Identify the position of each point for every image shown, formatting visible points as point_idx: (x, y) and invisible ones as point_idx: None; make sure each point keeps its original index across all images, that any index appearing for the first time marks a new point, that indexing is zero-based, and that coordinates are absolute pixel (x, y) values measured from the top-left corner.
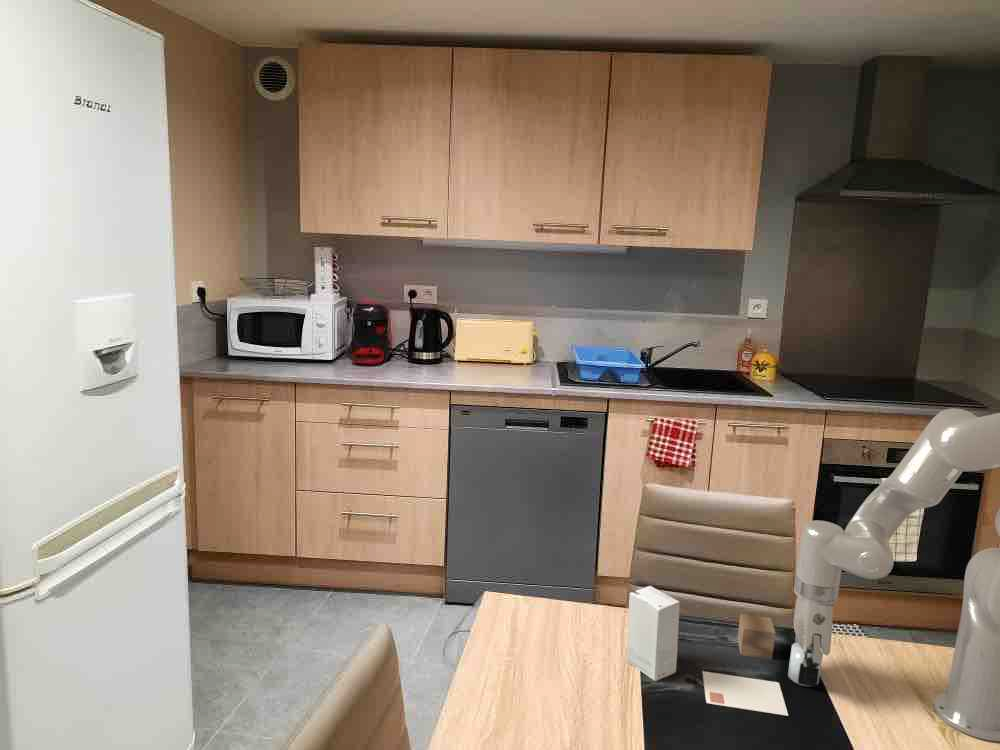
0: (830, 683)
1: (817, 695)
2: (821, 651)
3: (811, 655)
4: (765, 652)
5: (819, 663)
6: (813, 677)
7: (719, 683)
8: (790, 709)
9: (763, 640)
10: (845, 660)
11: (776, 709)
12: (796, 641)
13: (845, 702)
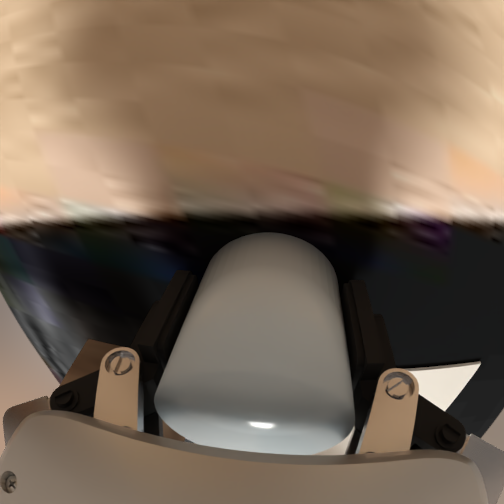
0: (281, 175)
1: (396, 266)
2: (238, 373)
3: (317, 424)
4: None
5: (495, 448)
6: (386, 337)
7: (342, 449)
8: (456, 355)
9: (164, 435)
10: (46, 73)
11: (452, 383)
12: (162, 425)
13: (442, 153)
